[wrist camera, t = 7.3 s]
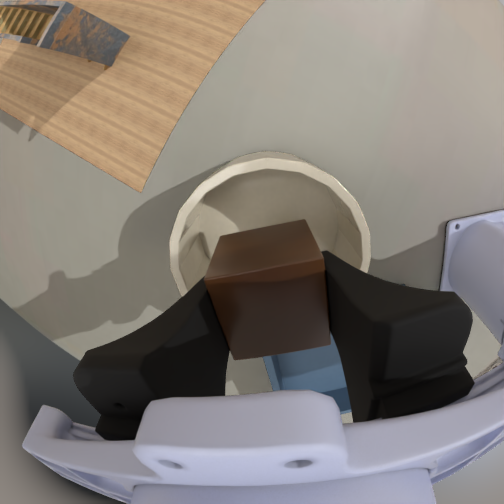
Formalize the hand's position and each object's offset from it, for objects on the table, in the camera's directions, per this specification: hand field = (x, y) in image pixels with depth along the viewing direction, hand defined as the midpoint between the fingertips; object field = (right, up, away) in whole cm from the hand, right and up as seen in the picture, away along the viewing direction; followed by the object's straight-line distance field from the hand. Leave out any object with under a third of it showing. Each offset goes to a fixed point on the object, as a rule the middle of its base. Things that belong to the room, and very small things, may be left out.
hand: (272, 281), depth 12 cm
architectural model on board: (-15, +18, 0) cm, 23 cm away
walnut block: (0, +1, +1) cm, 2 cm away
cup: (0, +3, +6) cm, 7 cm away
